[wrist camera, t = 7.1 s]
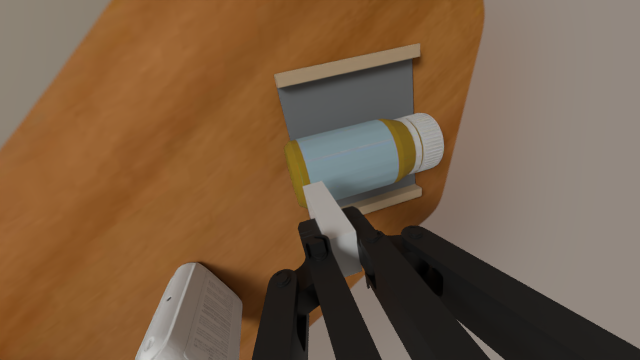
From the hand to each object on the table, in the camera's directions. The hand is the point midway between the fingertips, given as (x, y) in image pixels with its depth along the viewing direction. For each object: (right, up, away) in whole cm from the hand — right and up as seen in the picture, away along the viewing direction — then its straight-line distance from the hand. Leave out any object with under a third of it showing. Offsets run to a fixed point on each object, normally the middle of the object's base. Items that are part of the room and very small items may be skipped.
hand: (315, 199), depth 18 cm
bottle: (-3, +2, +6) cm, 7 cm away
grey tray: (+5, +6, +10) cm, 13 cm away
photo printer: (-14, -13, +13) cm, 23 cm away
